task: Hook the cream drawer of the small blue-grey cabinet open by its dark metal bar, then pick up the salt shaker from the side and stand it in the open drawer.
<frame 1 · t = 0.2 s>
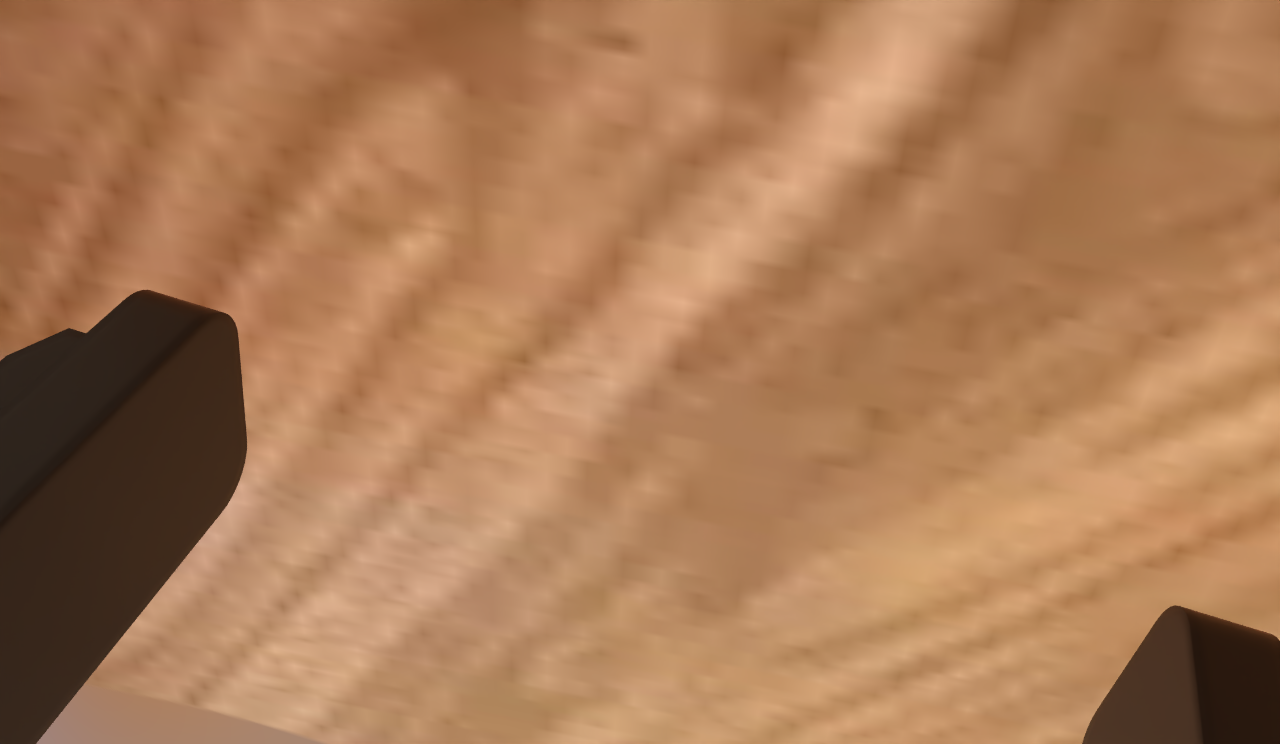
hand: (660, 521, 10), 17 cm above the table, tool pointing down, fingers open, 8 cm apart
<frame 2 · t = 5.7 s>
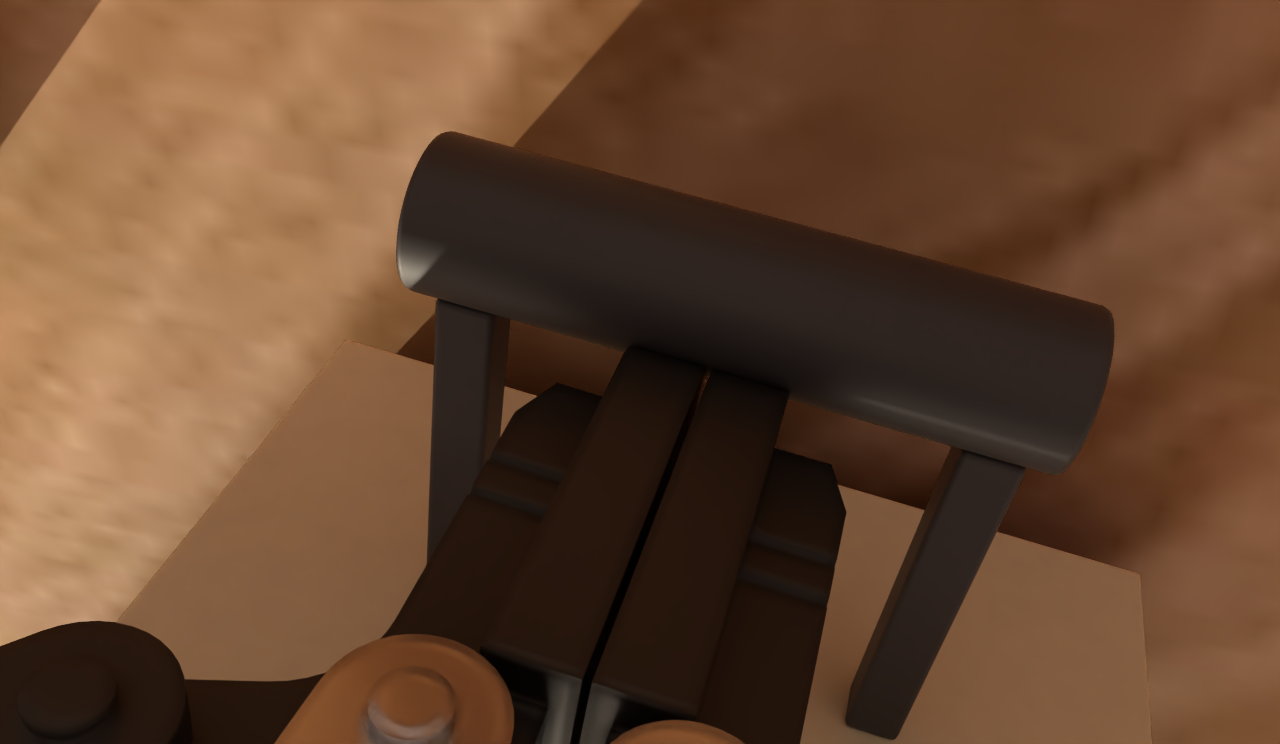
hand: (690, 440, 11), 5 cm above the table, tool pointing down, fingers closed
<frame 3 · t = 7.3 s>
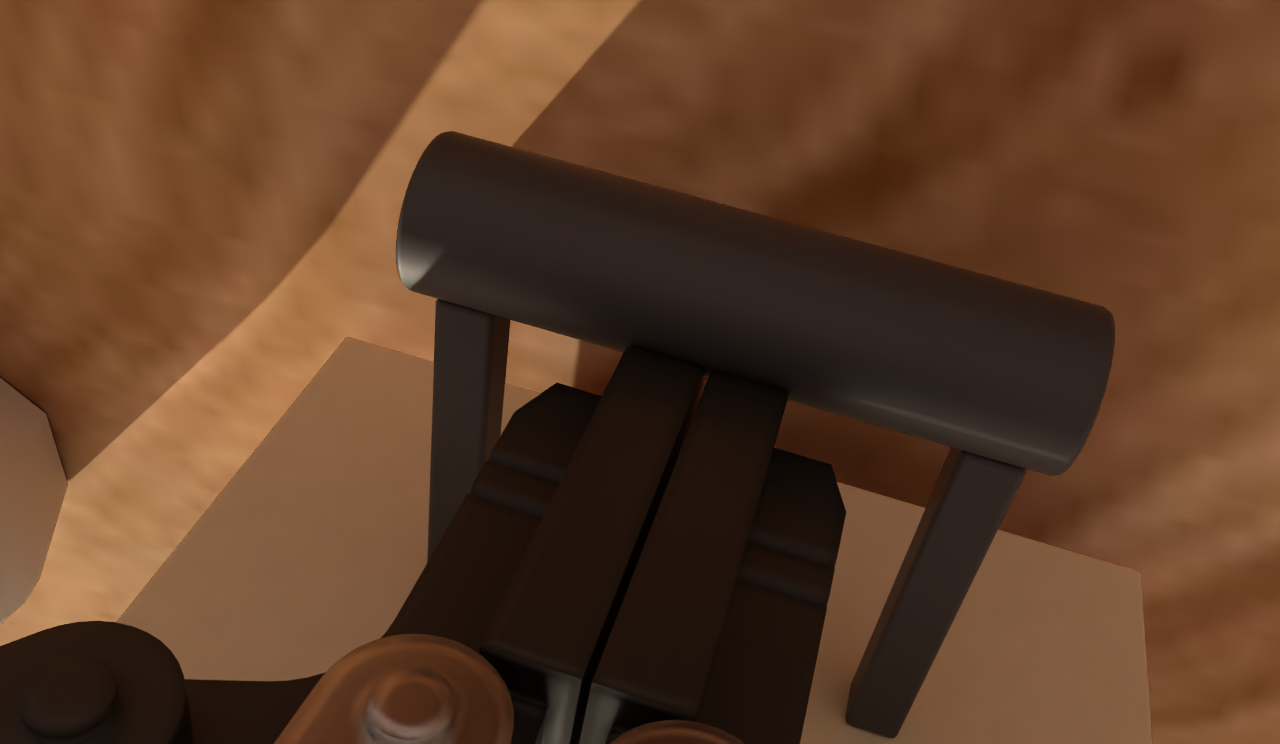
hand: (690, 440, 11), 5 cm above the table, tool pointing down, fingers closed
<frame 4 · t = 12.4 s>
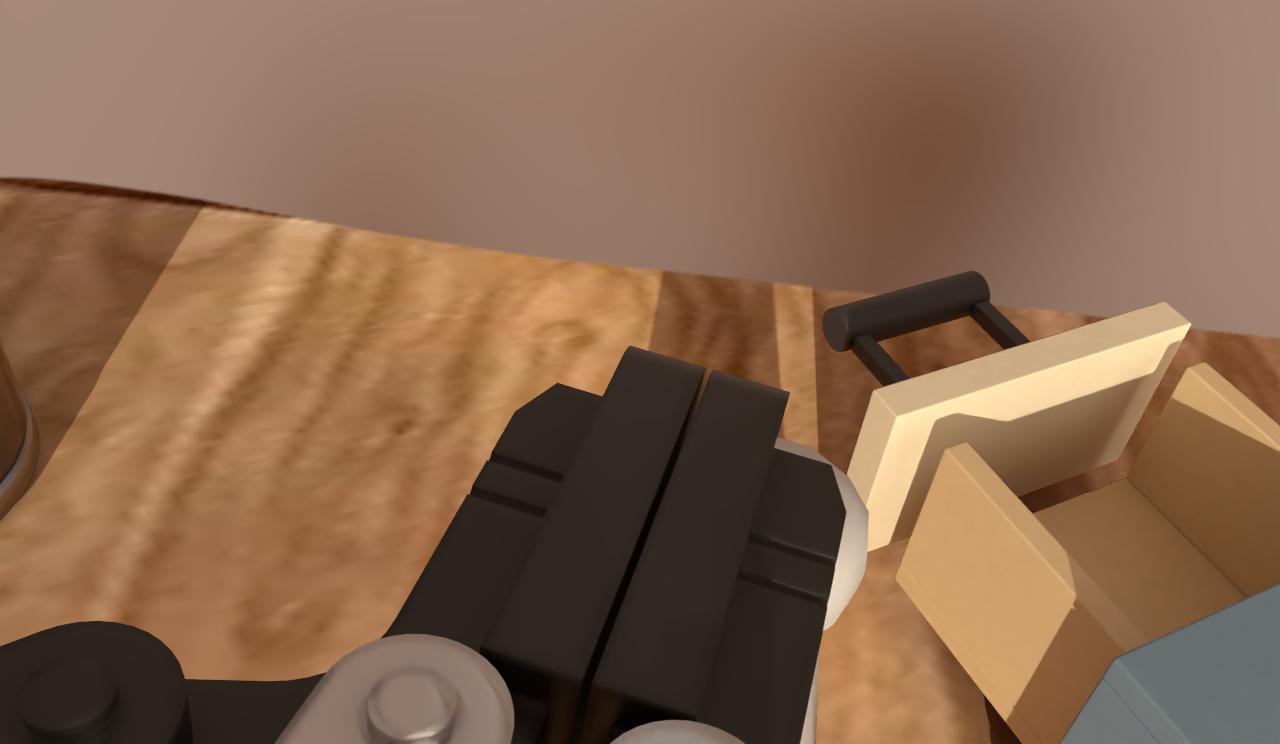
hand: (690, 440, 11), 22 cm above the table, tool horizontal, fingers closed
drawer: (1078, 502, 35), point 4 cm above the table, slide at 8.7 cm
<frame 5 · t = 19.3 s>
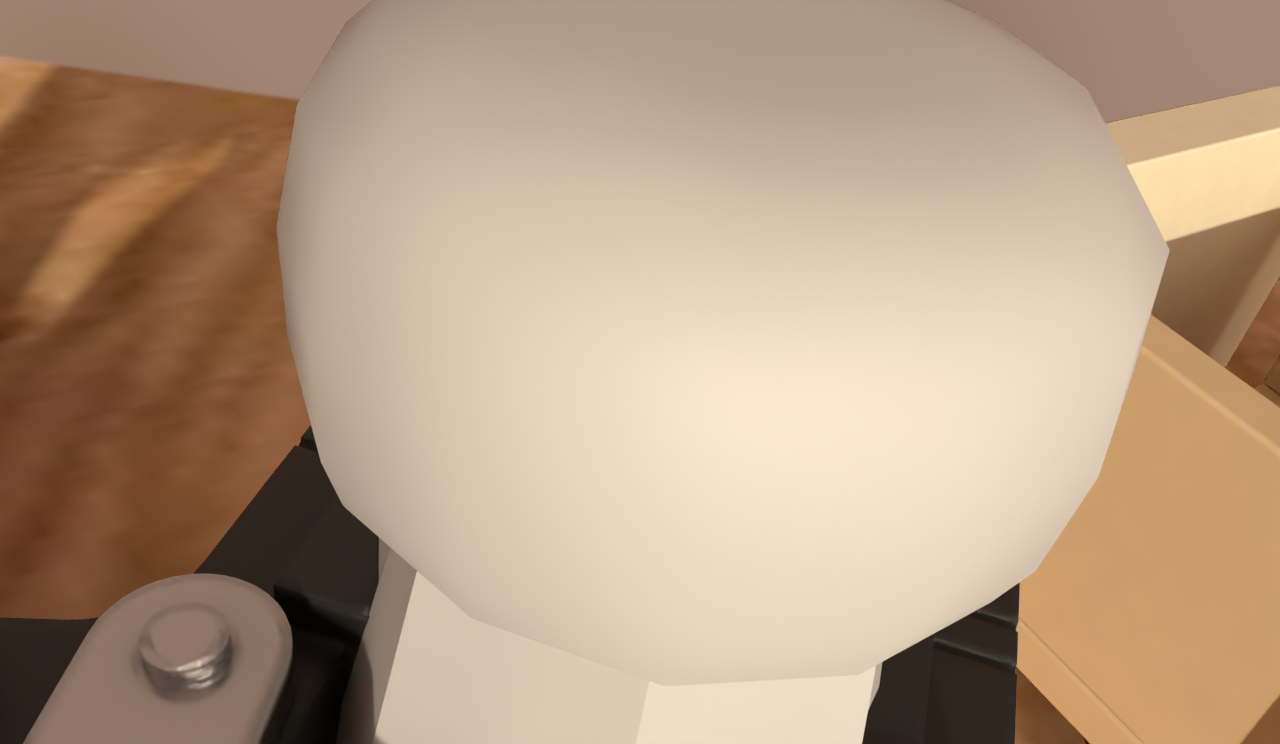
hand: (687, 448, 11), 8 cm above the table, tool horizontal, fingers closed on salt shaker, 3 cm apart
drawer: (1240, 401, 19), point 4 cm above the table, slide at 8.7 cm
when the fingers open (10 cm above the table, at t = 26.0 s): salt shaker stays where it is, resting on drawer.
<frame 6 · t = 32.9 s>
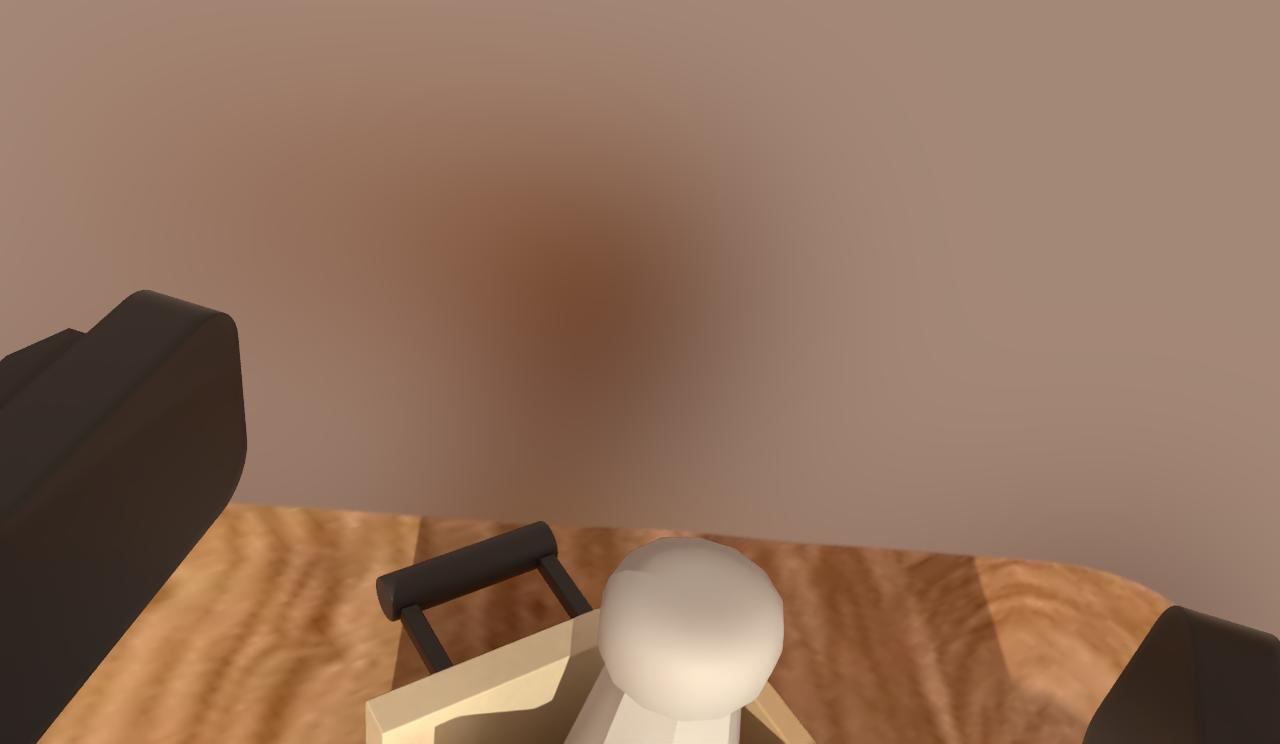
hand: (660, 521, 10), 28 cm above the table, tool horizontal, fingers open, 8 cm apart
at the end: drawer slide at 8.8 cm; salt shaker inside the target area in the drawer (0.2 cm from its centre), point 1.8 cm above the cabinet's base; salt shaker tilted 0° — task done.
